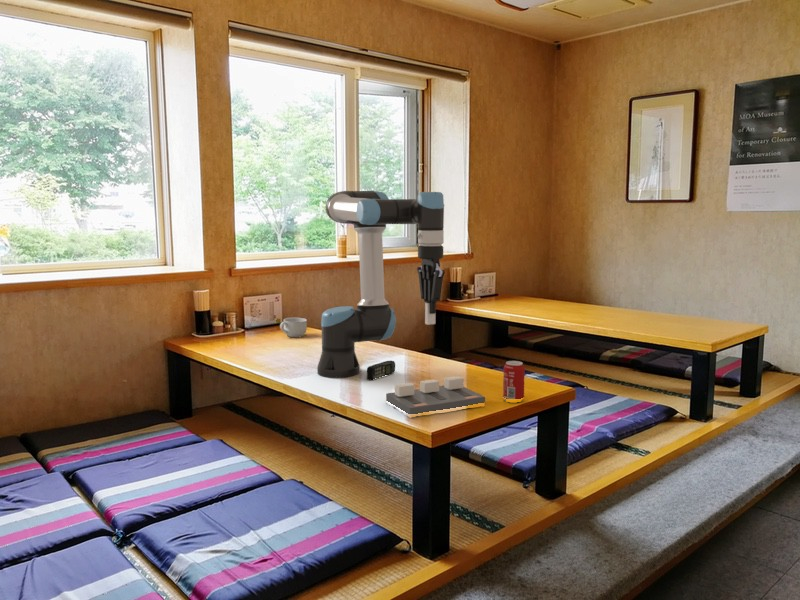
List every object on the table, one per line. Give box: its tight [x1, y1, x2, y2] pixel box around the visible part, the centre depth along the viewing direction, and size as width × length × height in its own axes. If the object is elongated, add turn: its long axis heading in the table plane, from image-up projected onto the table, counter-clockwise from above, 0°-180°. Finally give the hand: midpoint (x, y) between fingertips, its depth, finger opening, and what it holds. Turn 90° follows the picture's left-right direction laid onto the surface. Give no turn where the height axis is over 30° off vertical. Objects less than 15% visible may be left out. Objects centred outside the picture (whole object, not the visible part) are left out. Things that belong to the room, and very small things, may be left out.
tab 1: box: [394, 382, 415, 397], centre depth 193 cm, size 3×5×3 cm, turn 116°
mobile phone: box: [366, 360, 396, 381], centre depth 227 cm, size 5×3×15 cm
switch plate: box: [385, 385, 486, 414], centre depth 194 cm, size 16×25×3 cm, turn 116°
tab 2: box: [419, 378, 440, 393], centre depth 197 cm, size 3×5×3 cm, turn 116°
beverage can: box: [502, 360, 526, 399], centre depth 197 cm, size 6×6×12 cm
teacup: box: [279, 317, 308, 338], centre depth 297 cm, size 14×11×8 cm
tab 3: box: [443, 375, 464, 390], centre depth 200 cm, size 3×5×3 cm, turn 116°
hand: (430, 323), depth 193 cm, fingers closed
